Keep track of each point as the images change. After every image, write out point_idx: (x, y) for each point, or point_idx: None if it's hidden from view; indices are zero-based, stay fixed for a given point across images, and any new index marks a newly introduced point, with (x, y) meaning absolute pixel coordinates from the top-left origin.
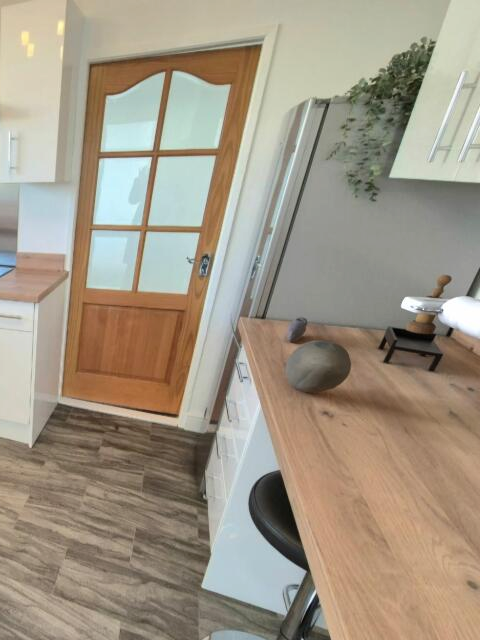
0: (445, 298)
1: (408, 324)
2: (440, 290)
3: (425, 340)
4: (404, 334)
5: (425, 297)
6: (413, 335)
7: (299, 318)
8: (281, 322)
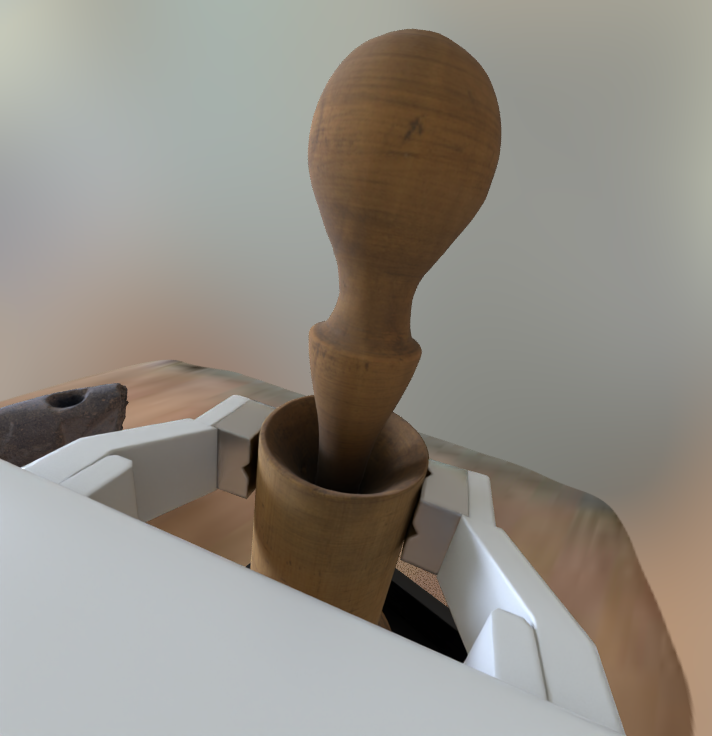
0: (466, 473)
1: None
2: (337, 349)
3: None
4: None
5: (254, 413)
6: (392, 604)
7: (89, 388)
8: (215, 386)
